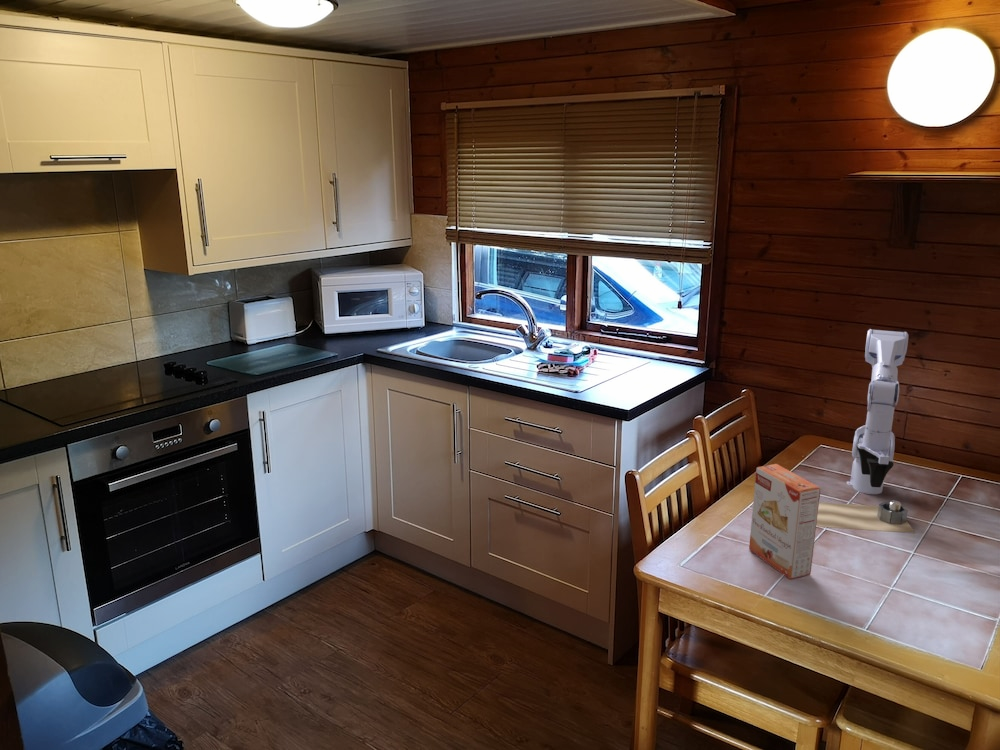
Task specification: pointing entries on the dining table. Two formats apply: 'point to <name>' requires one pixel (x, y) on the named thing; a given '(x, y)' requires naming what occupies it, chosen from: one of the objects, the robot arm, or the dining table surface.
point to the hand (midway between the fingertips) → (870, 480)
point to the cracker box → (784, 520)
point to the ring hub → (892, 514)
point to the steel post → (894, 506)
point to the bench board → (856, 518)
